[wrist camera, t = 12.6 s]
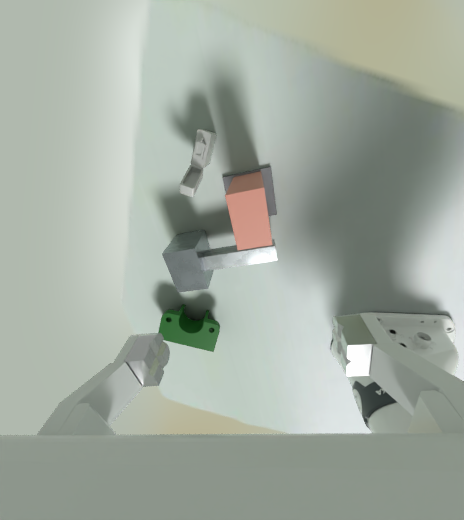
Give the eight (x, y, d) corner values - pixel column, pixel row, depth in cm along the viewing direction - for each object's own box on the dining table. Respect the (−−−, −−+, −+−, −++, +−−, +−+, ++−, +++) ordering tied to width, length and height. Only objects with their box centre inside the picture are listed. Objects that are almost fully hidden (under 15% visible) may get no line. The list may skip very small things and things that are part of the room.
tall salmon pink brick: (261, 171, 32) (264, 187, 22) (267, 214, 35) (272, 244, 25) (233, 177, 32) (225, 195, 23) (242, 218, 35) (237, 250, 26)
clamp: (215, 301, 50) (229, 325, 43) (209, 324, 52) (221, 351, 44) (160, 299, 45) (165, 326, 37) (155, 324, 47) (159, 354, 39)
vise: (270, 217, 35) (274, 235, 29) (275, 256, 38) (280, 279, 32) (176, 234, 38) (162, 253, 32) (189, 269, 41) (178, 292, 35)
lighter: (204, 129, 30) (189, 128, 23) (216, 133, 30) (205, 133, 23) (193, 181, 33) (177, 194, 27) (204, 185, 34) (191, 198, 27)
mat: (270, 166, 32) (270, 167, 31) (276, 213, 35) (276, 214, 34) (222, 177, 33) (222, 177, 32) (232, 221, 36) (232, 222, 36)
